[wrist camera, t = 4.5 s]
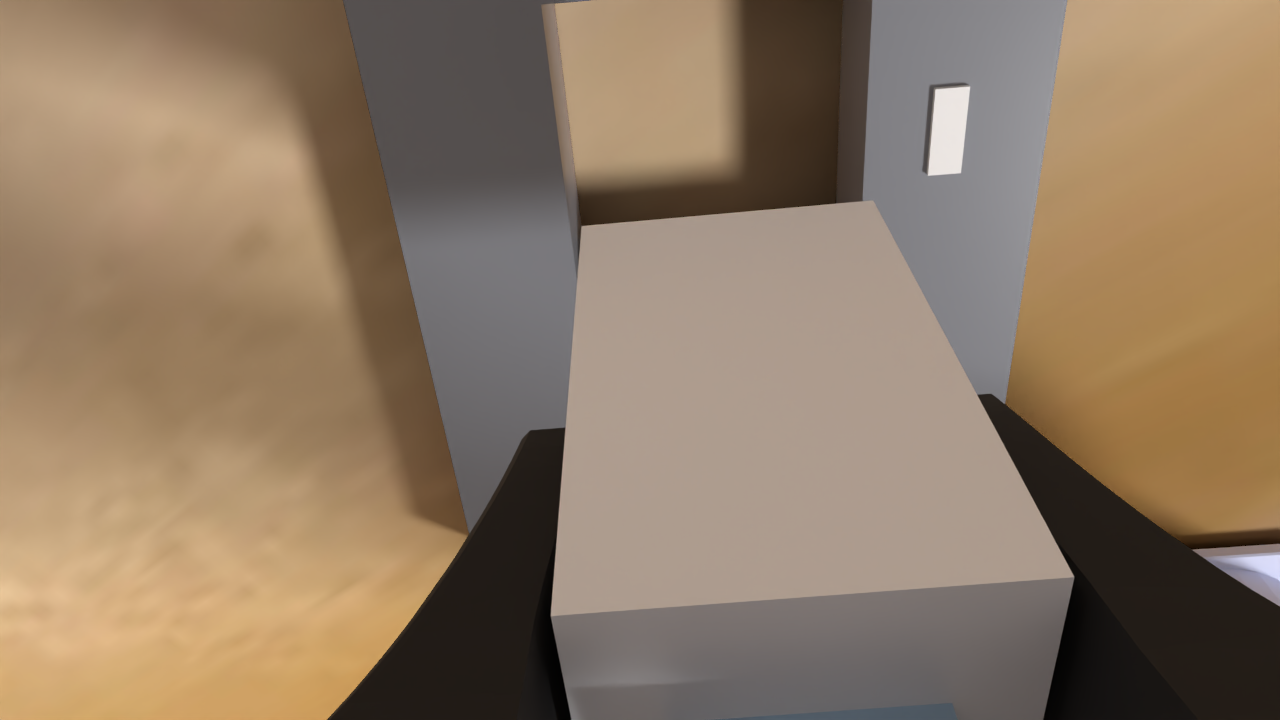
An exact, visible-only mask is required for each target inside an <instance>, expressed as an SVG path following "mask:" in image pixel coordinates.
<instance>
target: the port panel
mask: <svg viewBox="0 0 1280 720" xmlns="http://www.w3.org/2000/svg"><path fill="white" fill-rule="evenodd" d="M578 1H589V0H343V3H344V7H345V11H346V15H347V20H348V24H349V28H350V32H351V36H352V41H353V45H354V49H355V53H356V58H357V62H358V66H359V70H360V75H361V79H362V83H363V87H364V91H365V96H366V100H367V104H368V108H369V113H370V117H371V121H372V125H373V129H374V134H375V138H376V142H377V146H378V151H379V155H380V159H381V163H382V168H383V172H384V176H385V180H386V184H387V189H388V193H389V197H390V201H391V206H392V210H393V214H394V218H395V223H396V227H397V231H398V235H399V239H400V244H401V248H402V252H403V256H404V261H405V265H406V269H407V273H408V277H409V282H410V286H411V290H412V294H413V299H414V303H415V307H416V311H417V316H418V320H419V324H420V328H421V332H422V337H423V341H424V345H425V349H426V354H427V358H428V362H429V366H430V370H431V375H432V379H433V383H434V387H435V392H436V396H437V400H438V404H439V409H440V413H441V417H442V421H443V425H444V430H445V434H446V438H447V442H448V447H449V451H450V455H451V459H452V464H453V468H454V472H455V476H456V480H457V485H458V489H459V493H460V497H461V502H462V506H463V510H464V514H465V518H466V523H467V527H468V531H469V534H470V532H471V531H472V529H473V527H474V526H475V524H476V523H477V521H478V519H479V518H480V516H481V515H482V513H483V511H484V510H485V508H486V506H487V504H488V503H489V501H490V499H491V497H492V496H493V494H494V492H495V490H496V488H497V487H498V485H499V483H500V481H501V479H502V478H503V476H504V474H505V472H506V470H507V468H508V466H509V464H510V462H511V460H512V458H513V456H514V454H515V452H516V450H517V448H518V446H519V444H520V442H521V440H522V438H523V437H524V436H525V435H526V434H527V433H528V432H529V431H530V430H540V429H552V428H565V427H566V416H567V404H568V391H569V378H570V366H571V353H572V341H573V328H574V315H575V303H576V290H577V278H578V265H579V252H580V240H581V227H582V225H581V217H580V208H579V200H578V192H577V184H576V176H575V168H574V159H573V151H572V143H571V135H570V127H569V119H568V111H567V102H566V94H565V86H564V78H563V70H562V62H561V53H560V45H559V37H558V29H557V21H556V13H555V5H554V3H566V2H578ZM1066 5H1067V0H843V11H842V41H841V71H840V101H839V131H838V161H837V191H836V204H838V203H849V202H861V201H872V200H873V201H874V203H875V205H876V207H877V209H878V210H879V212H880V214H881V216H882V218H883V220H884V222H885V223H886V225H887V227H888V229H889V231H890V233H891V235H892V237H893V238H894V240H895V242H896V244H897V246H898V248H899V250H900V252H901V253H902V255H903V257H904V259H905V261H906V263H907V265H908V267H909V268H910V270H911V272H912V274H913V276H914V278H915V280H916V282H917V283H918V285H919V287H920V289H921V291H922V293H923V295H924V296H925V298H926V300H927V302H928V304H929V306H930V308H931V310H932V311H933V313H934V315H935V317H936V319H937V321H938V323H939V325H940V326H941V328H942V330H943V332H944V334H945V336H946V338H947V340H948V341H949V343H950V345H951V347H952V349H953V351H954V353H955V354H956V356H957V358H958V360H959V362H960V364H961V366H962V368H963V369H964V371H965V373H966V375H967V377H968V379H969V381H970V383H971V384H972V386H973V388H974V390H975V392H976V394H977V395H979V394H992V395H994V396H995V397H996V398H998V399H999V400H1000V401H1001V402H1003V403H1004V404H1005V400H1006V394H1007V387H1008V381H1009V374H1010V368H1011V361H1012V355H1013V348H1014V342H1015V336H1016V329H1017V323H1018V316H1019V310H1020V303H1021V297H1022V290H1023V284H1024V277H1025V271H1026V264H1027V258H1028V251H1029V245H1030V238H1031V232H1032V225H1033V219H1034V212H1035V206H1036V199H1037V193H1038V186H1039V180H1040V173H1041V167H1042V161H1043V154H1044V148H1045V141H1046V135H1047V128H1048V122H1049V115H1050V109H1051V102H1052V96H1053V89H1054V83H1055V76H1056V70H1057V63H1058V57H1059V50H1060V44H1061V37H1062V31H1063V24H1064V18H1065V11H1066Z"/></svg>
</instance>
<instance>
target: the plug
mask: <svg viewBox="0 0 1280 720" xmlns="http://www.w3.org/2000/svg"><path fill="white" fill-rule="evenodd" d="M1073 582H1074V575H1073V573H1072V572H1071V570H1070V568H1069V566H1068V564H1067V562H1066V560H1065V558H1064V557H1063V555H1062V553H1061V551H1060V549H1059V547H1058V545H1057V544H1056V542H1055V540H1054V538H1053V536H1052V534H1051V532H1050V530H1049V529H1048V527H1047V525H1046V523H1045V521H1044V519H1043V517H1042V515H1041V514H1040V512H1039V510H1038V508H1037V506H1036V504H1035V502H1034V500H1033V499H1032V497H1031V495H1030V493H1029V491H1028V489H1027V487H1026V486H1025V484H1024V482H1023V480H1022V478H1021V476H1020V474H1019V472H1018V471H1017V469H1016V467H1015V465H1014V463H1013V461H1012V459H1011V457H1010V456H1009V454H1008V452H1007V450H1006V448H1005V446H1004V444H1003V442H1002V441H1001V439H1000V437H999V435H998V433H997V431H996V429H995V427H994V426H993V424H992V422H991V420H990V418H989V416H988V414H987V413H986V411H985V409H984V407H983V405H982V403H981V401H980V399H979V398H978V396H977V394H976V392H975V390H974V388H973V386H972V384H971V383H970V381H969V379H968V377H967V375H966V373H965V371H964V369H963V368H962V366H961V364H960V362H959V360H958V358H957V356H956V354H955V353H954V351H953V349H952V347H951V345H950V343H949V341H948V340H947V338H946V336H945V334H944V332H943V330H942V328H941V326H940V325H939V323H938V321H937V319H936V317H935V315H934V313H933V311H932V310H931V308H930V306H929V304H928V302H927V300H926V298H925V296H924V295H923V293H922V291H921V289H920V287H919V285H918V283H917V282H916V280H915V278H914V276H913V274H912V272H911V270H910V268H909V267H908V265H907V263H906V261H905V259H904V257H903V255H902V253H901V252H900V250H899V248H898V246H897V244H896V242H895V240H894V238H893V237H892V235H891V233H890V231H889V229H888V227H887V225H886V223H885V222H884V220H883V218H882V216H881V214H880V212H879V210H878V209H877V207H876V205H875V203H874V201H873V200H872V201H861V202H849V203H838V204H826V205H815V206H804V207H792V208H781V209H770V210H758V211H747V212H736V213H724V214H713V215H701V216H690V217H679V218H667V219H656V220H645V221H633V222H622V223H611V224H599V225H588V226H582V227H581V240H580V252H579V265H578V278H577V290H576V303H575V315H574V328H573V341H572V353H571V366H570V378H569V391H568V404H567V416H566V429H565V441H564V454H563V467H562V479H561V492H560V505H559V517H558V530H557V542H556V555H555V568H554V580H553V593H552V605H551V620H552V625H553V630H554V635H555V640H556V645H557V650H558V655H559V660H560V665H561V670H562V675H563V680H564V685H565V690H566V695H567V700H568V705H569V710H570V715H571V720H1043V718H1044V713H1045V709H1046V704H1047V700H1048V695H1049V691H1050V686H1051V682H1052V677H1053V672H1054V668H1055V663H1056V659H1057V654H1058V650H1059V645H1060V641H1061V636H1062V632H1063V627H1064V622H1065V618H1066V613H1067V609H1068V604H1069V600H1070V595H1071V591H1072V586H1073Z"/></svg>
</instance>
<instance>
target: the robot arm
mask: <svg viewBox="0 0 1280 720" xmlns="http://www.w3.org/2000/svg"><path fill="white" fill-rule="evenodd" d="M977 396H978V398H979V399H980V401H981V403H982V405H983V407H984V409H985V411H986V413H987V414H988V416H989V418H990V420H991V422H992V424H993V426H994V427H995V429H996V431H997V433H998V435H999V437H1000V439H1001V441H1002V442H1003V444H1004V446H1005V448H1006V450H1007V452H1008V454H1009V456H1010V457H1011V459H1012V461H1013V463H1014V465H1015V467H1016V469H1017V471H1018V472H1019V474H1020V476H1021V478H1022V480H1023V482H1024V484H1025V486H1026V487H1027V489H1028V491H1029V493H1030V495H1031V497H1032V499H1033V500H1034V502H1035V504H1036V506H1037V508H1038V510H1039V512H1040V514H1041V515H1042V517H1043V519H1044V521H1045V523H1046V525H1047V527H1048V529H1049V530H1050V532H1051V534H1052V536H1053V538H1054V540H1055V542H1056V544H1057V545H1058V547H1059V549H1060V551H1061V553H1062V555H1063V557H1064V558H1065V560H1066V562H1067V564H1068V566H1069V568H1070V570H1071V572H1072V573H1073V575H1074V582H1073V586H1072V591H1071V595H1070V600H1069V604H1068V609H1067V613H1066V618H1065V622H1064V627H1063V632H1062V636H1061V641H1060V645H1059V650H1058V654H1057V659H1056V663H1055V668H1054V672H1053V677H1052V682H1051V686H1050V691H1049V695H1048V700H1047V704H1046V709H1045V713H1044V718H1043V720H1280V544H1269V545H1254V546H1239V547H1224V548H1209V549H1194V550H1192V549H1190V548H1189V547H1187V546H1186V545H1184V544H1183V543H1181V542H1180V541H1179V540H1177V539H1176V538H1174V537H1173V536H1171V535H1170V534H1168V533H1167V532H1166V531H1164V530H1163V529H1161V528H1160V527H1159V526H1157V525H1156V524H1155V523H1153V522H1152V521H1150V520H1149V519H1148V518H1146V517H1145V516H1144V515H1142V514H1141V513H1140V512H1138V511H1137V510H1136V509H1134V508H1133V507H1132V506H1130V505H1129V504H1128V503H1126V502H1125V501H1124V500H1122V499H1121V498H1120V497H1118V496H1117V495H1116V494H1115V493H1113V492H1112V491H1111V490H1109V489H1108V488H1107V487H1106V486H1104V485H1103V484H1102V483H1100V482H1099V481H1098V480H1097V479H1095V478H1094V477H1093V476H1092V475H1090V474H1089V473H1088V472H1087V471H1085V470H1084V469H1083V468H1082V467H1080V466H1079V465H1078V464H1077V463H1075V462H1074V461H1073V460H1072V459H1070V458H1069V457H1068V456H1067V455H1066V454H1064V453H1063V452H1062V451H1061V450H1059V449H1058V448H1057V447H1056V446H1055V445H1053V444H1052V443H1051V442H1050V441H1049V440H1047V439H1046V438H1045V437H1044V436H1042V435H1041V434H1040V433H1039V432H1038V431H1036V430H1035V429H1034V428H1033V427H1032V426H1030V425H1029V424H1028V423H1027V422H1026V421H1024V420H1023V419H1022V418H1021V417H1020V416H1018V415H1017V414H1016V413H1015V412H1014V411H1012V410H1011V409H1010V408H1009V407H1008V406H1006V405H1005V404H1004V403H1003V402H1001V401H1000V400H999V399H998V398H996V397H995V396H994V395H992V394H979V395H977ZM565 429H566V427H565V428H552V429H540V430H530V431H529V432H528V433H527V434H526V435H525V436H524V437H523V438H522V440H521V442H520V444H519V446H518V448H517V450H516V452H515V454H514V456H513V458H512V460H511V462H510V464H509V466H508V468H507V470H506V472H505V474H504V476H503V478H502V479H501V481H500V483H499V485H498V487H497V488H496V490H495V492H494V494H493V496H492V497H491V499H490V501H489V503H488V504H487V506H486V508H485V510H484V511H483V513H482V515H481V516H480V518H479V519H478V521H477V523H476V524H475V526H474V527H473V529H472V531H471V532H470V534H469V536H468V537H467V539H466V540H465V542H464V544H463V545H462V547H461V548H460V550H459V552H458V553H457V555H456V556H455V558H454V559H453V561H452V563H451V564H450V566H449V567H448V569H447V570H446V571H445V573H444V574H443V576H442V577H441V578H440V580H439V581H438V583H437V584H436V586H435V587H434V588H433V590H432V591H431V593H430V594H429V595H428V597H427V598H426V600H425V601H424V602H423V604H422V605H421V607H420V608H419V610H418V611H417V612H416V614H415V615H414V617H413V618H412V619H411V621H410V622H409V623H408V625H407V626H406V627H405V629H404V630H403V631H402V632H401V634H400V635H399V636H398V638H397V639H396V640H395V641H394V643H393V644H392V645H391V647H390V648H389V649H388V650H387V652H386V653H385V654H384V655H383V656H382V658H381V659H380V660H379V661H378V663H377V664H376V665H375V666H374V667H373V668H372V670H371V671H370V672H369V673H368V674H367V676H366V677H365V678H364V679H363V680H362V681H361V683H360V684H359V685H358V686H357V687H356V689H355V690H354V691H353V692H352V693H351V694H350V695H349V697H348V698H347V699H346V700H345V701H344V702H343V703H342V704H341V705H340V706H339V707H338V708H337V709H336V711H335V712H334V713H333V714H332V715H331V716H330V717H329V718H328V719H327V720H571V715H570V710H569V705H568V700H567V695H566V690H565V685H564V680H563V675H562V670H561V665H560V660H559V655H558V650H557V645H556V640H555V635H554V630H553V625H552V620H551V605H552V593H553V580H554V568H555V555H556V542H557V530H558V517H559V505H560V492H561V479H562V467H563V454H564V441H565Z"/></svg>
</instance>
